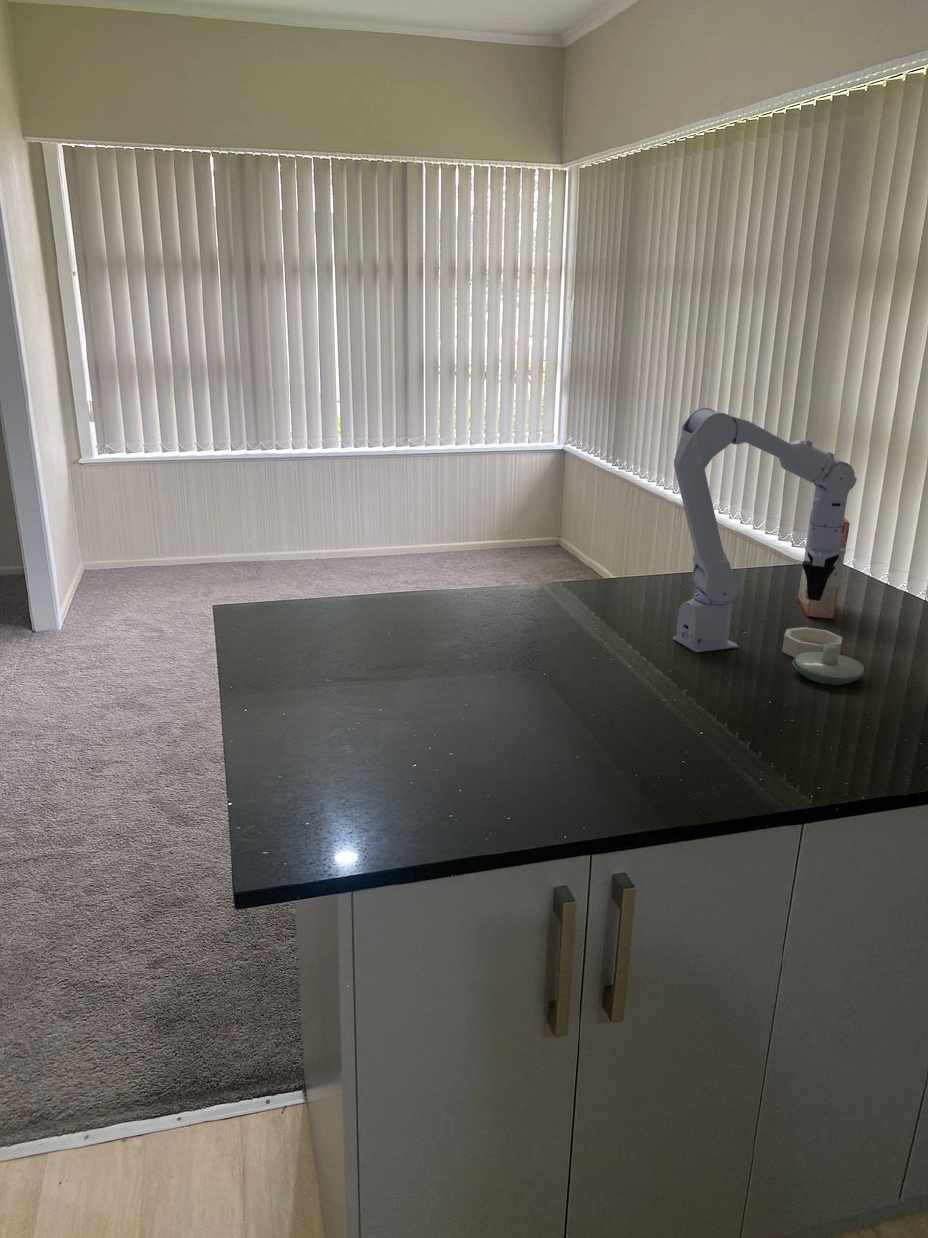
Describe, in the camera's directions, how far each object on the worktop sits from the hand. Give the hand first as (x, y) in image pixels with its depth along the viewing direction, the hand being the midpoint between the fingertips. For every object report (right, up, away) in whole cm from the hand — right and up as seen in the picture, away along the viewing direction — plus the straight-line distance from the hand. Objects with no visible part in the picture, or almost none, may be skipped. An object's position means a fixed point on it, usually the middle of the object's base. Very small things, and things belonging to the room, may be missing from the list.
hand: (816, 594), depth 179 cm
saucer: (-3, -15, -13) cm, 21 cm away
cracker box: (+9, -3, +25) cm, 27 cm away
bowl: (-2, -11, -2) cm, 11 cm away
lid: (-3, -13, -14) cm, 19 cm away
